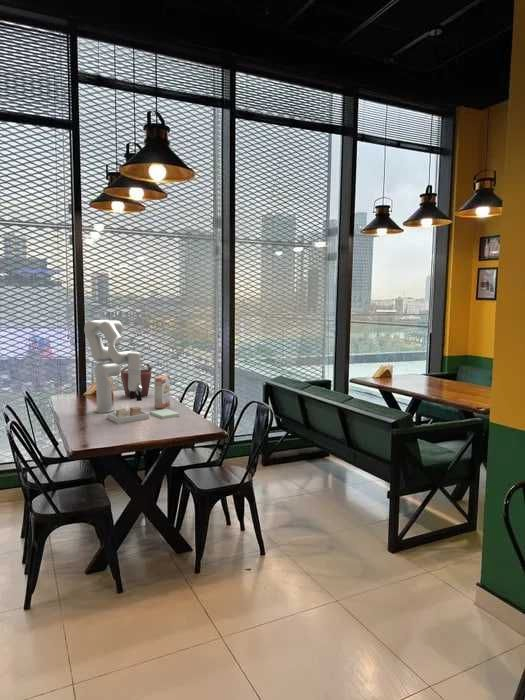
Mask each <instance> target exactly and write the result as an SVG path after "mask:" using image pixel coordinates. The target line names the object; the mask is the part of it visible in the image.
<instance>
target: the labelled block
mask: <svg viewBox="0 0 525 700" xmlns="http://www.w3.org/2000/svg"><path fill="white" fill-rule="evenodd" d="M141 409H142V407H140V406H131V407H129V410H130V416H134V415H141Z"/></svg>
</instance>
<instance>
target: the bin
mask: <svg viewBox="0 0 525 700" xmlns="http://www.w3.org/2000/svg"><path fill="white" fill-rule="evenodd" d="M107 419H109V420H110V421H112V422H114V423H116V424H123V423H132V422H137V421H142V420H148V419H149V420H150V412H146V411H145V410H141V415H134V416H130V409H129V410H127V417H122V418H118V417H116V411H113V412H107Z"/></svg>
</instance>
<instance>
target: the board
mask: <svg viewBox="0 0 525 700" xmlns="http://www.w3.org/2000/svg"><path fill="white" fill-rule="evenodd" d="M149 415H153V416H155V417H157V418H159V419H167V418H168V419H169V418H178V417H177V416H179V417H180V413H179V412H178V411H174V410H171V409H168V408H163V409H158V410H152V411H149Z"/></svg>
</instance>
